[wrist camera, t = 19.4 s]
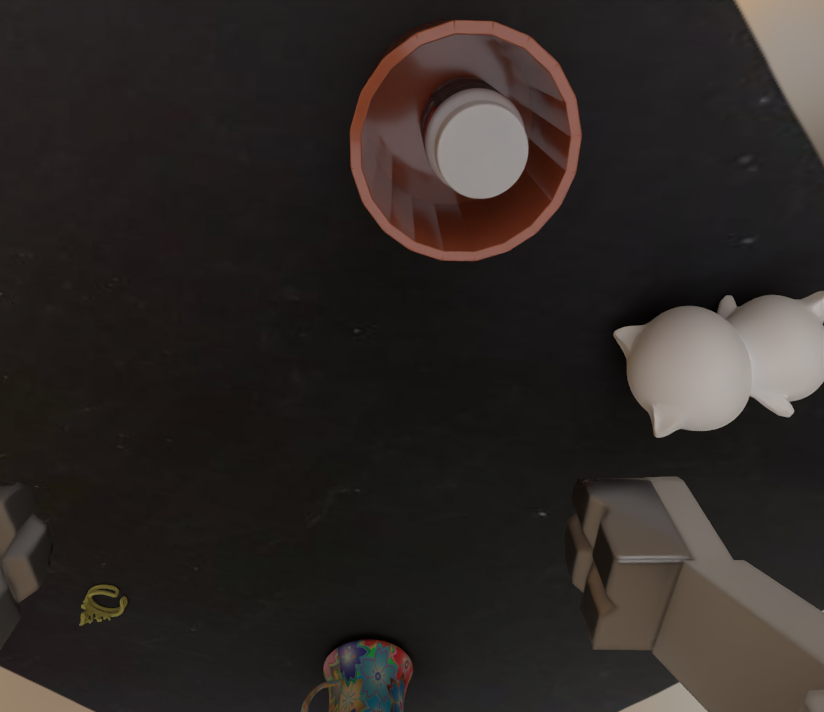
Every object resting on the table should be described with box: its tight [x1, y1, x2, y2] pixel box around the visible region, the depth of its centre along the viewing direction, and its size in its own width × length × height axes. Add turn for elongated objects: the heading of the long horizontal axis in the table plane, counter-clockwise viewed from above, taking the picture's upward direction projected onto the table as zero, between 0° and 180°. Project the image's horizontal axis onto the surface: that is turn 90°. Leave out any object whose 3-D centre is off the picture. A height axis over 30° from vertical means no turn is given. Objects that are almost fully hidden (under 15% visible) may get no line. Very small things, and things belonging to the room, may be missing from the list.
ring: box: [79, 585, 127, 625], centre depth 52 cm, size 3×3×3 cm
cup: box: [350, 19, 582, 261], centre depth 30 cm, size 10×10×9 cm
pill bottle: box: [420, 77, 528, 199], centre depth 30 cm, size 5×5×8 cm
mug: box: [301, 639, 413, 712], centre depth 53 cm, size 12×9×11 cm
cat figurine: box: [613, 291, 824, 438], centre depth 39 cm, size 9×11×12 cm
